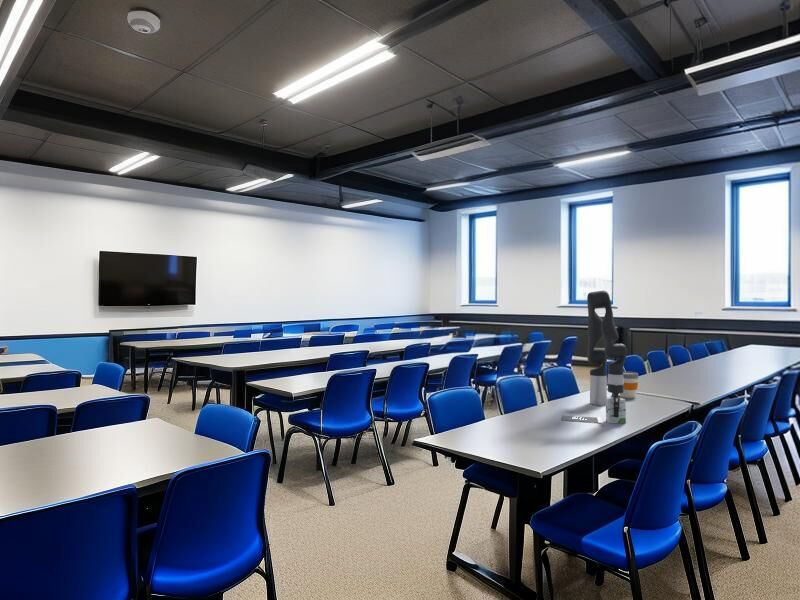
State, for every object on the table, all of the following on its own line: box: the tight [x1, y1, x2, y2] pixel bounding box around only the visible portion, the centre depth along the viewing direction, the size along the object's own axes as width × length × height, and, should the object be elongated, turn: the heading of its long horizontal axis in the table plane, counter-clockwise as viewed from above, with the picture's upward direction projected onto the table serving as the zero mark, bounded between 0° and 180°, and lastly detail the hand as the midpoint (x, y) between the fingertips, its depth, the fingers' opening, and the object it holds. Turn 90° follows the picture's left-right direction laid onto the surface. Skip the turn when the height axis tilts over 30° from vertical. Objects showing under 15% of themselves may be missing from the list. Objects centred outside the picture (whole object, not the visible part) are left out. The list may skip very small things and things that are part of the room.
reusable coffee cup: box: [619, 370, 639, 399], centre depth 321 cm, size 12×13×15 cm
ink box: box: [605, 397, 627, 424], centre depth 257 cm, size 9×5×12 cm, turn 84°
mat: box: [561, 414, 603, 424], centre depth 262 cm, size 11×19×1 cm, turn 72°
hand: (615, 415), depth 257 cm, fingers open, 6 cm apart
